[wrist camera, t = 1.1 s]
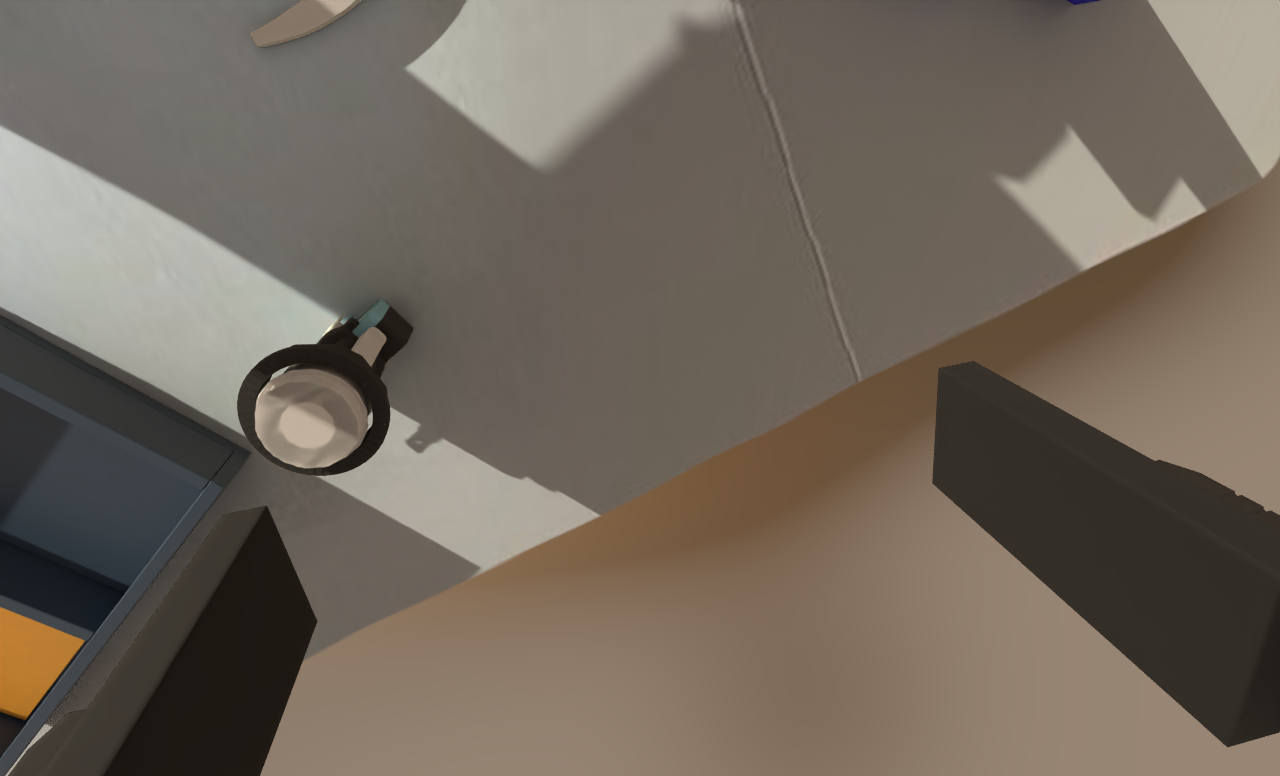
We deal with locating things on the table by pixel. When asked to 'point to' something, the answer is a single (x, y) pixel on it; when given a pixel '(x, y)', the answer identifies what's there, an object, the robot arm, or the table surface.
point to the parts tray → (83, 516)
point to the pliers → (301, 20)
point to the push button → (324, 396)
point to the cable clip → (1081, 1)
